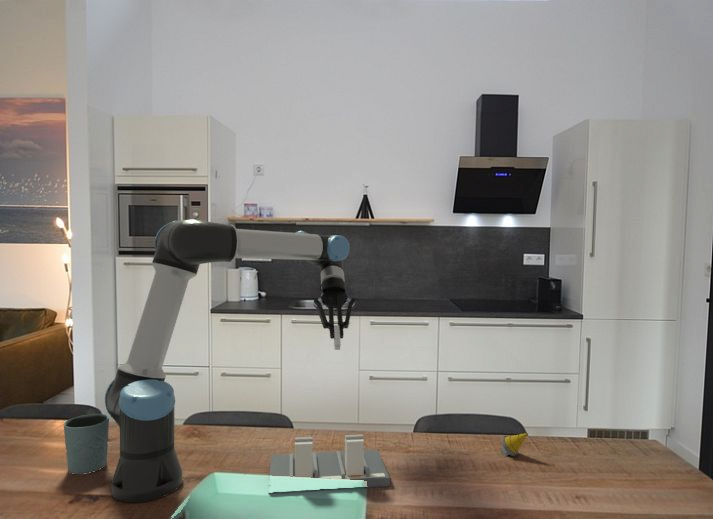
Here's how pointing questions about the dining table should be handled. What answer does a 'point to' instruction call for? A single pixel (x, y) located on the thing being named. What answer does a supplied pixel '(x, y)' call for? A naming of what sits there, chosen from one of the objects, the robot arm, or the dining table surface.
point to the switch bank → (334, 467)
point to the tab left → (304, 457)
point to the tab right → (354, 455)
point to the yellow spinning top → (512, 444)
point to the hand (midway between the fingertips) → (337, 347)
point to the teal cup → (86, 442)
